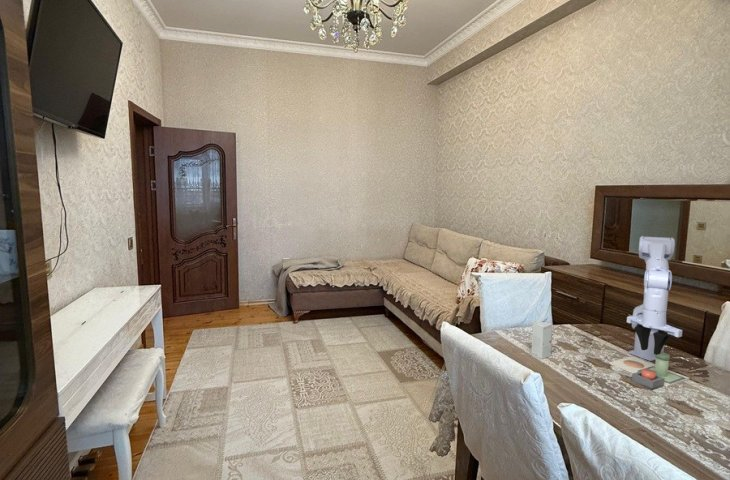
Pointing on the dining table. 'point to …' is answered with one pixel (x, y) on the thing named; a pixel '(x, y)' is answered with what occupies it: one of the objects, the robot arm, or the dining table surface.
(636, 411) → the dining table surface
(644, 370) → the button
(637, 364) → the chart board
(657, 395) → the dining table surface
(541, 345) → the skincare box
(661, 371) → the green cup
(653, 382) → the button housing
